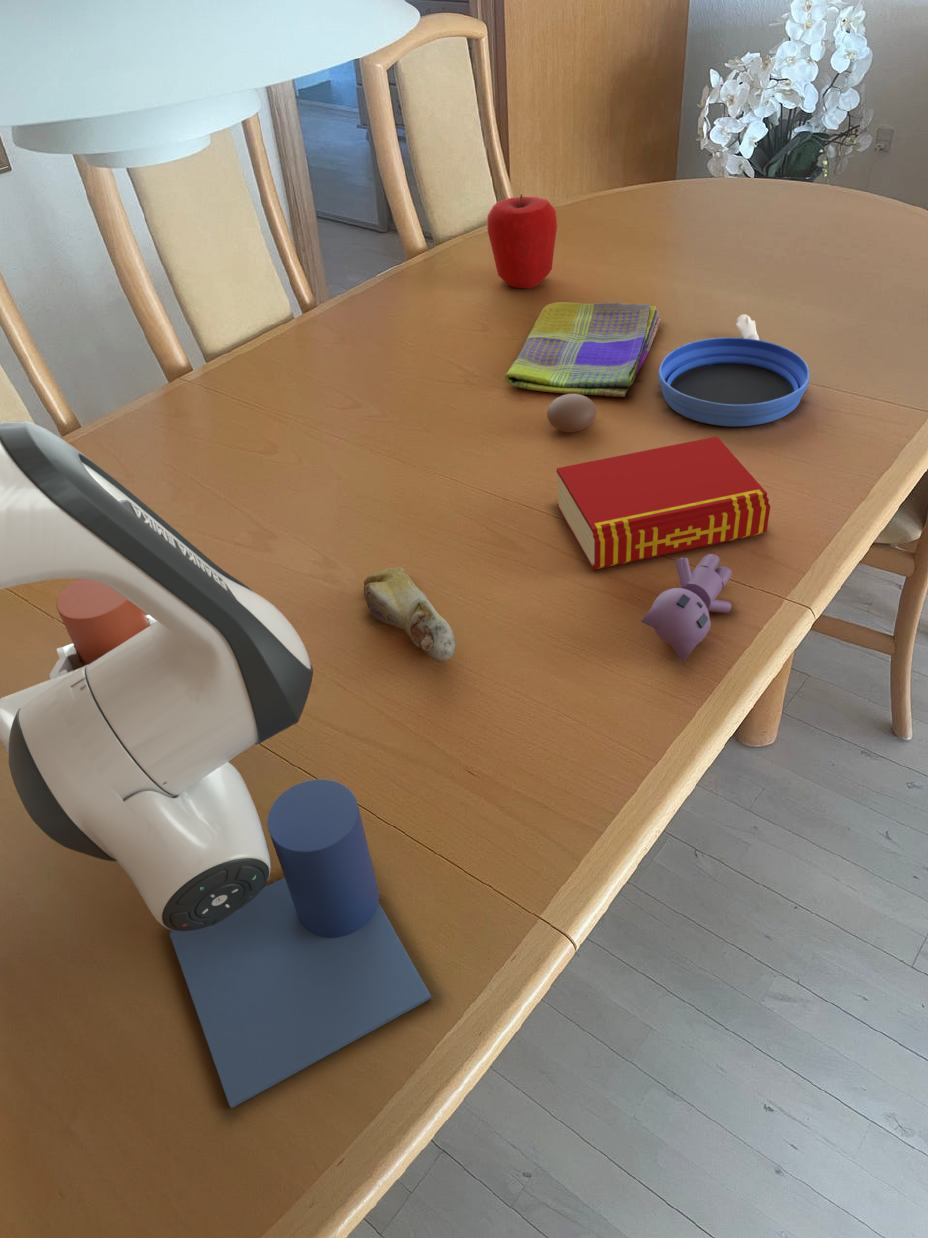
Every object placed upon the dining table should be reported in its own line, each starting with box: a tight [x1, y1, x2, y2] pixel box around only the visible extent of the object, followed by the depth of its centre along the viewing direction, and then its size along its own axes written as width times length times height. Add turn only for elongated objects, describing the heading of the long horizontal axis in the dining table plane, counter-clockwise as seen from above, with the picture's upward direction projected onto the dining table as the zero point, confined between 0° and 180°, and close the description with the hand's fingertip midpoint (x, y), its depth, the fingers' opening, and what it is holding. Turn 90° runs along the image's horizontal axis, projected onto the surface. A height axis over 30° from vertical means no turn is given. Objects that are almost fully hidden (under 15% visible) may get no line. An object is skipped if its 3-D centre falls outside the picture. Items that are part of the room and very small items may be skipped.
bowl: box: [658, 337, 810, 428], centre depth 122 cm, size 18×18×4 cm
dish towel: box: [504, 301, 662, 398], centre depth 134 cm, size 18×24×3 cm
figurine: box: [640, 553, 733, 665], centre depth 90 cm, size 5×7×12 cm
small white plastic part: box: [735, 313, 760, 340], centre depth 133 cm, size 4×6×3 cm, turn 159°
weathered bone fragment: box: [363, 566, 457, 663], centre depth 92 cm, size 5×5×15 cm
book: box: [556, 436, 771, 571], centre depth 102 cm, size 18×13×5 cm
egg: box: [546, 393, 597, 433], centre depth 119 cm, size 6×6×4 cm
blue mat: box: [168, 877, 432, 1109], centre depth 67 cm, size 14×14×1 cm
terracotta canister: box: [56, 579, 149, 666], centre depth 80 cm, size 6×6×10 cm
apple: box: [486, 193, 558, 289], centre depth 151 cm, size 11×10×14 cm
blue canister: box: [267, 778, 380, 938], centre depth 67 cm, size 6×6×10 cm
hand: (111, 634), depth 81 cm, fingers closed on terracotta canister, 6 cm apart
